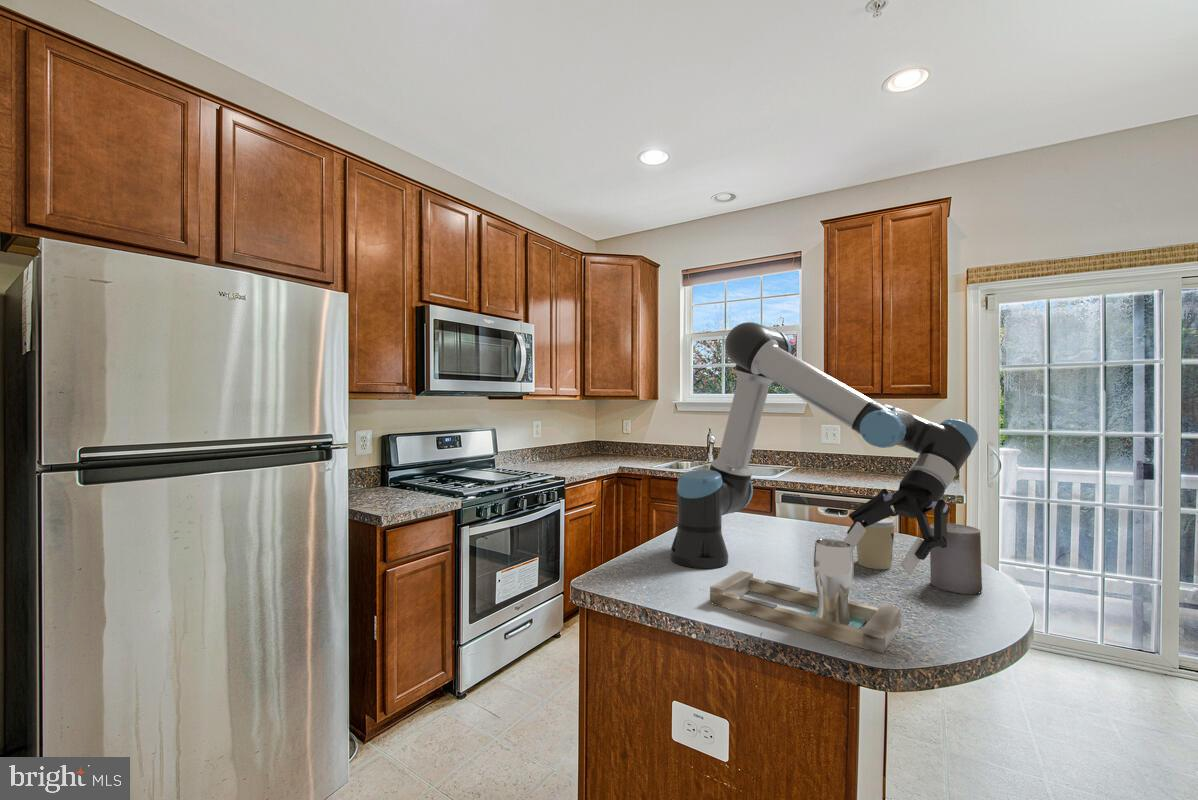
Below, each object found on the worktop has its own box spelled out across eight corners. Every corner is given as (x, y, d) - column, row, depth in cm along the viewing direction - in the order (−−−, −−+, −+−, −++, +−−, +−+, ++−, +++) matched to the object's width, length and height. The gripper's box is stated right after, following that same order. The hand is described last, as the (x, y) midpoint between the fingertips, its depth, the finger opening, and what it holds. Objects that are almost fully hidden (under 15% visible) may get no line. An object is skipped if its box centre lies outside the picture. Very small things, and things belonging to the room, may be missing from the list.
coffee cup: (902, 570, 127) (902, 523, 127) (865, 570, 128) (865, 522, 128) (882, 559, 137) (882, 515, 137) (847, 559, 137) (847, 514, 137)
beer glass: (813, 626, 93) (813, 545, 94) (812, 612, 100) (812, 536, 100) (855, 633, 91) (855, 549, 91) (851, 618, 97) (851, 540, 98)
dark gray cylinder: (960, 580, 121) (959, 517, 121) (993, 594, 111) (991, 526, 111) (920, 580, 120) (919, 517, 121) (949, 595, 111) (948, 527, 111)
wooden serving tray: (709, 603, 105) (709, 586, 105) (740, 585, 115) (740, 570, 115) (882, 654, 83) (882, 632, 84) (900, 626, 94) (900, 607, 94)
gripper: (1000, 504, 95) (945, 593, 90) (882, 483, 118) (833, 553, 113) (982, 477, 93) (925, 566, 88) (866, 461, 116) (815, 531, 111)
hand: (873, 559), depth 100 cm, fingers open, 13 cm apart
